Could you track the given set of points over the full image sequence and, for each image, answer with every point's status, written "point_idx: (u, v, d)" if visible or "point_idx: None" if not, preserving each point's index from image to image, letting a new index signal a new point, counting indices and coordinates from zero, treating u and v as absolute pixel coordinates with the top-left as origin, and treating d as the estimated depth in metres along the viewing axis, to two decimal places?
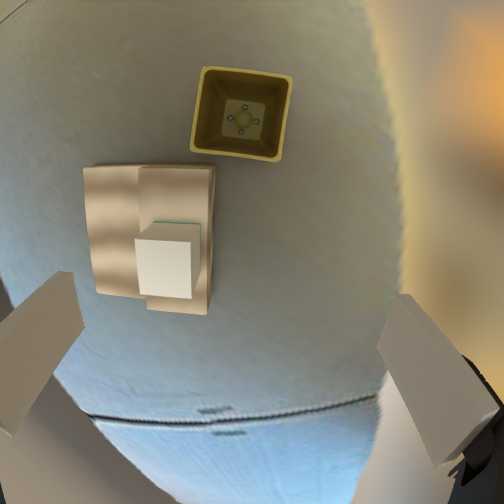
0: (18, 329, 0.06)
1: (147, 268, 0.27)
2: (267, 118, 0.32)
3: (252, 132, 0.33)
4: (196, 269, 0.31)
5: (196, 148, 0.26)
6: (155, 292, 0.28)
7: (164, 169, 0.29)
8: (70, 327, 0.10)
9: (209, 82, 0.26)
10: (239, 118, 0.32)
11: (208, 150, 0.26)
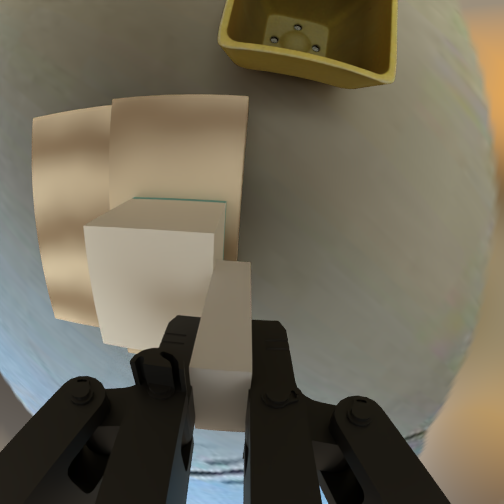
0: None
1: (114, 294, 0.11)
2: (335, 43, 0.16)
3: None
4: None
5: (231, 40, 0.10)
6: (134, 342, 0.12)
7: (160, 97, 0.14)
8: None
9: None
10: (289, 40, 0.17)
11: (257, 45, 0.11)
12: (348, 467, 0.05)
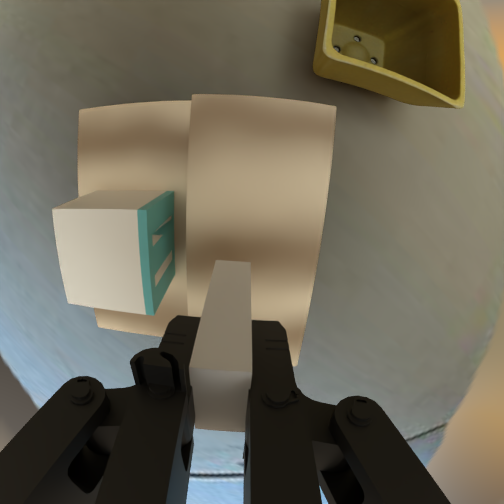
0: None
1: None
2: (392, 58, 0.17)
3: None
4: (106, 284, 0.15)
5: (337, 53, 0.11)
6: None
7: (248, 97, 0.14)
8: None
9: None
10: (351, 51, 0.17)
11: (359, 61, 0.11)
12: (348, 467, 0.05)
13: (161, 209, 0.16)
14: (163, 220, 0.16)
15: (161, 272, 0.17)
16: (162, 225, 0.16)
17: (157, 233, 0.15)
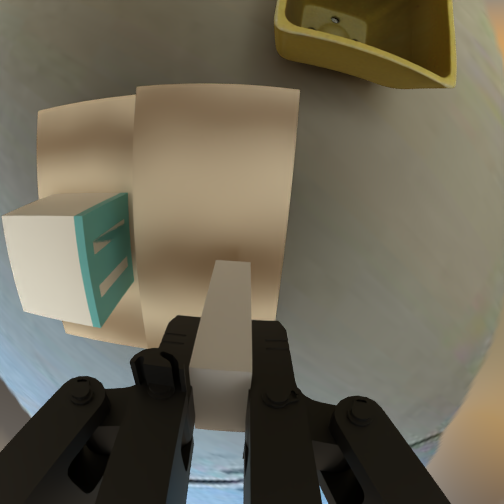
0: None
1: None
2: (375, 39, 0.14)
3: None
4: (53, 293, 0.13)
5: (291, 24, 0.08)
6: None
7: (196, 85, 0.12)
8: None
9: None
10: (328, 33, 0.15)
11: (320, 32, 0.09)
12: (348, 467, 0.05)
13: (107, 213, 0.14)
14: (111, 225, 0.14)
15: (110, 281, 0.15)
16: (109, 231, 0.14)
17: (101, 239, 0.13)
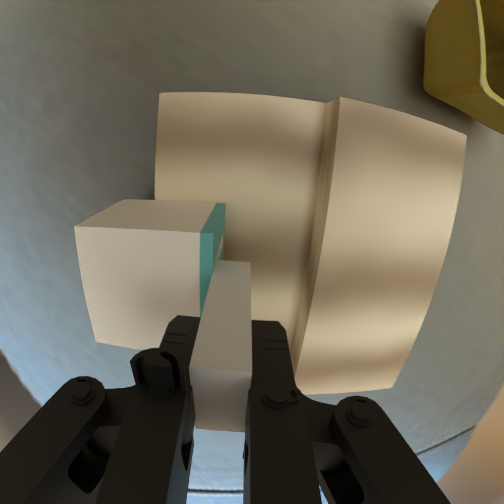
0: None
1: None
2: None
3: None
4: (150, 323, 0.12)
5: (490, 89, 0.08)
6: None
7: (397, 113, 0.12)
8: None
9: None
10: None
11: (503, 101, 0.08)
12: (348, 467, 0.05)
13: (219, 228, 0.13)
14: (220, 241, 0.14)
15: None
16: (219, 247, 0.14)
17: (216, 258, 0.13)
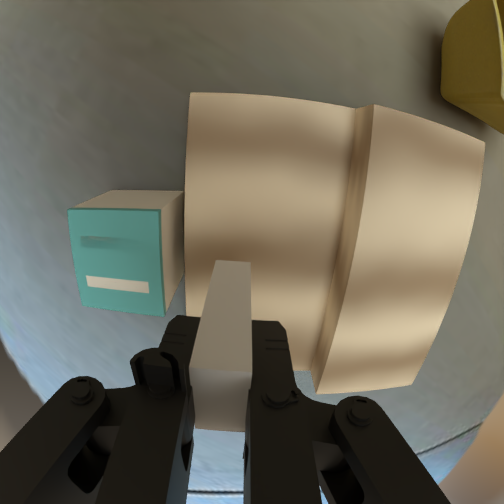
0: None
1: None
2: None
3: None
4: None
5: None
6: None
7: (425, 121, 0.12)
8: None
9: None
10: None
11: None
12: (348, 467, 0.05)
13: (105, 220, 0.13)
14: (113, 235, 0.14)
15: (106, 284, 0.15)
16: (109, 239, 0.14)
17: (93, 240, 0.14)
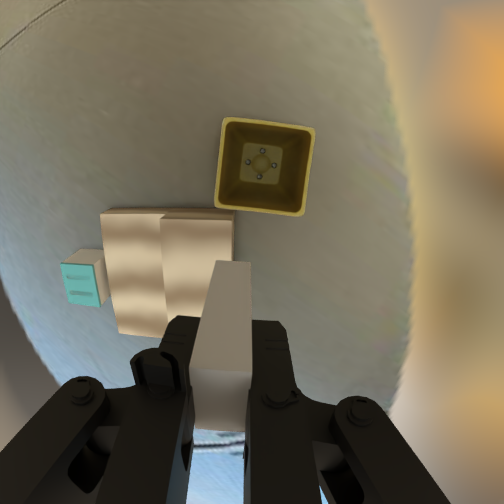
0: None
1: None
2: (285, 163, 0.33)
3: (270, 177, 0.35)
4: None
5: (220, 204, 0.27)
6: None
7: (186, 220, 0.31)
8: None
9: (229, 131, 0.27)
10: (257, 163, 0.34)
11: (233, 206, 0.27)
12: (348, 467, 0.05)
13: (74, 268, 0.33)
14: (78, 274, 0.33)
15: (77, 293, 0.34)
16: (77, 275, 0.33)
17: (71, 276, 0.33)
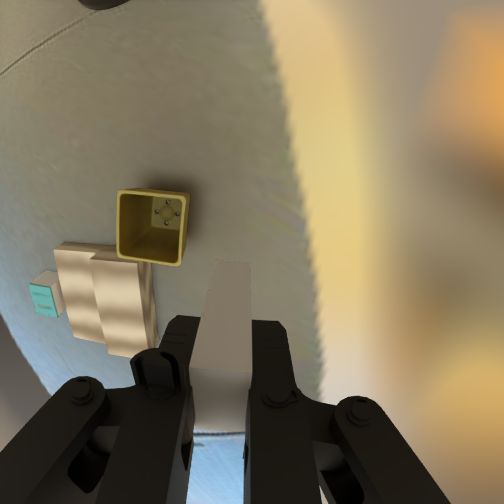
0: None
1: None
2: None
3: (175, 223, 0.42)
4: None
5: (121, 255, 0.34)
6: None
7: (106, 261, 0.38)
8: None
9: (129, 196, 0.34)
10: (163, 212, 0.41)
11: (129, 257, 0.34)
12: (348, 467, 0.05)
13: (38, 288, 0.40)
14: (41, 292, 0.40)
15: (41, 306, 0.41)
16: (40, 293, 0.40)
17: (36, 293, 0.40)
